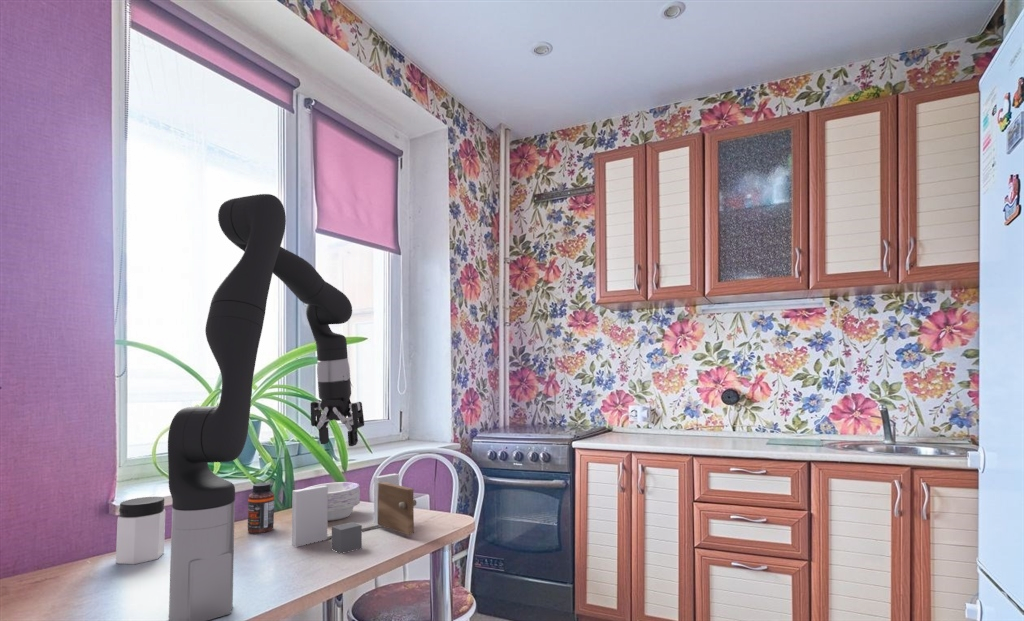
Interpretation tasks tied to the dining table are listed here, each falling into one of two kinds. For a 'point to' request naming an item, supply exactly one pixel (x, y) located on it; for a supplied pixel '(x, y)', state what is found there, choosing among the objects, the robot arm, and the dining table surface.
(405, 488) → the door
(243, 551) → the dining table surface
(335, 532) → the block
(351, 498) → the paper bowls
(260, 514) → the supplement bottle
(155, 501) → the jar
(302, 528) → the wall frame
